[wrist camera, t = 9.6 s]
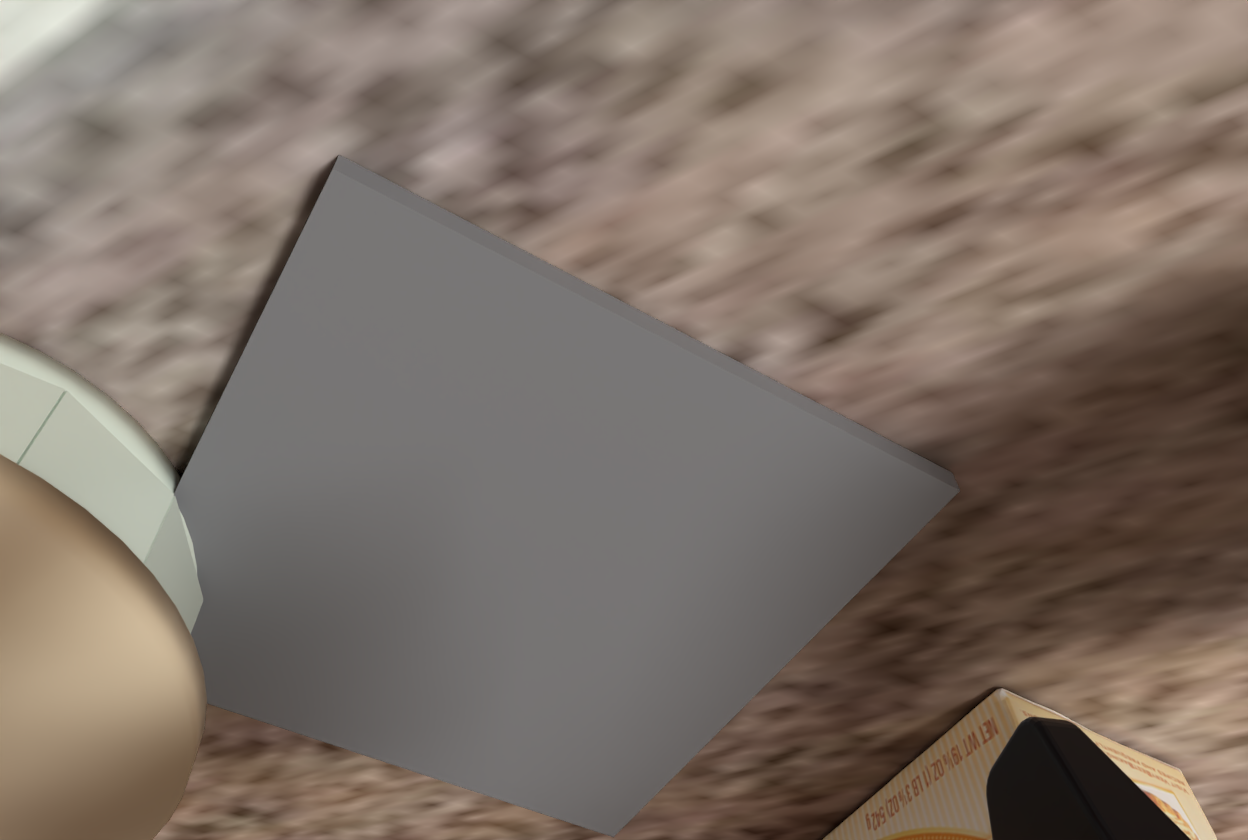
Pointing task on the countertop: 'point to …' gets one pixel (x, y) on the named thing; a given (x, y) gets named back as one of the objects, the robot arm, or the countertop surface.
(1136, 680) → the countertop surface
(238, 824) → the countertop surface
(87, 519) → the lid
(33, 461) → the bowl
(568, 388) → the plate
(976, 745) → the coffeecake box
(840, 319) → the countertop surface
